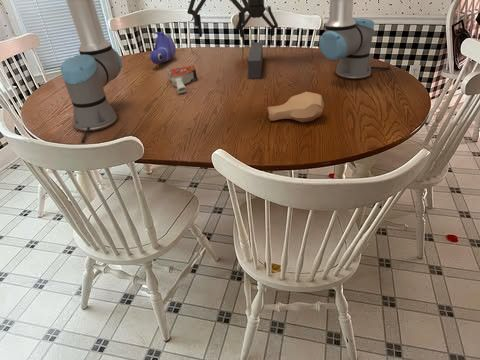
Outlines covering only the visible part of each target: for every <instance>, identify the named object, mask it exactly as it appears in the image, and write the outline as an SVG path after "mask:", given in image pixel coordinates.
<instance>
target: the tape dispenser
mask: <svg viewBox="0 0 480 360" xmlns="http://www.w3.org/2000/svg"><path fill="white" fill-rule="evenodd" d="M181 70H183V71H181ZM166 72H167V77H168V79H169V81H170V82H171V84H172V85H173V87H176V92H177V93H178V94H183V93H186V92H187V87H186V85H187V84H188V83H191V81H196V80H197V77H198V76H197V70H196V67H195V65H188V66H183V67H176V68H168V69H166Z"/></svg>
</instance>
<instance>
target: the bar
mask: <svg viewBox="0 0 480 360" xmlns="http://www.w3.org/2000/svg"><path fill="white" fill-rule="evenodd" d="M247 58H248V59H247V75H248V76H247V77H248V78H247V79H249V80H250V79H261V78H262V71H263V62H264V61H263V60H264V42H262V41H256V42H255V41H254V42H253V41H252V42H251V45H250V49H249V54H248V57H247Z"/></svg>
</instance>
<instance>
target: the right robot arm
mask: <svg viewBox="0 0 480 360" xmlns="http://www.w3.org/2000/svg"><path fill="white" fill-rule="evenodd" d="M247 2H248V4H249V6H250V10H249V11H247V13H248V16H247V17H246V18H245V23H244V24H242V35H240V34H239V37H240V38H242V45H243V46H244V45H246V39H245V29H244V28H245V27H246V25H247V24H248V22H249V21H250V20H251V18H252V19H256V18H257V19H260V18H262V19H263V20H264V22H265V23H266V24H267V25H268V26H269V27H270V28H269V36H270V37H269V41H270V43H269V44H270V45H271V44H273V37H274V36H275V30H276V29H277V28H278V27H279V23H278V21H277V20H276V18H275V16H274V14H273V10H272V7H271V5H269V6H265V0H247ZM353 11H354V0H329V16H328V17H329V18H328V20H327V21H326V22H325V24H324V32H323V33H322V35H321V36H320V38H319V41H318V42H319V43H318V47H319V51H320V53H321V54H322V55H323V56H324V58H325V59H327V60H329V61H334V62H335V61H338V60H339V61H338V63H337V65H336V66H335V75H336V76H337V77H339V78H341V79H345V80H351V81H352V80H355V81H356V80H358V81H359V80H364V79H367V78H369V77H371V75H372V70H389V69H390V66H372V65H371V60H370V54H371V48H372V43H373V42H372V41H373V37H374V31H375V21H373V20H372V19H368V18H361V17H353V13H354V12H353ZM265 12H267V13H268V15H269V17H270V19H271V21H270V19H269V18H268V17H267V16H266V14H265ZM245 14H246V12H245ZM235 26H236V27H235V30H238V31H239V20H238V21H237V24H236V25H235Z"/></svg>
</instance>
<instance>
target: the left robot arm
mask: <svg viewBox="0 0 480 360" xmlns="http://www.w3.org/2000/svg"><path fill="white" fill-rule="evenodd" d="M65 1H66V4H67V8H68V11H69V13H70V16H71V19H72V21H73V25H74V27H75V30H76V34H77V36H78V39H79V42H80V45H79V47H78V52H79V54H77V55H73V56H72V57H71V56H70V57H68V58H66V59H65V60H64V61H63V62H62V63H61V65H60V72H61V77H62V80H63V82H64V84H65V87H66V90H67V93H68V96H69V99H70V101H71V104H72V108H73V114H72V117H73V118H72V119H73V125H74V128H75V129H76V131H78V132H84V134H83V136H82V138H81V142H80V143H84V142H85V139H86V137H87V135H88V133H92V132H99V131H102V130H105V129H107V128H110V127H111V126H113V125H115V124H116V122H117V121H118V116H117V114H116V111H115V109H114V108H113V107H112V105H111V103H110V102H109V101H108V99H107V96H106V92H105V89H104V87H106V86H107V85H108V84H109V83H111V82H112V81H113V80H115V79H116V78H117V77H118V75H119V74H120V73H121V71H122V68H123V62H122V58H121V55H120V53H119V52H118V51H116V49H115V48H114V47H113V45H112V43H111V42H110V41H109V40H107V39H106V36H105V34H104V30H103V27H102V23H101V21H100V18H99V13H98V11H97V7H96V5H95V1H94V0H65ZM206 1H207V0H200V2H199V3H198V5H197V6H196V7H195V9H194V6H195V4H196V0H190V2H189V6H188V9H187V14H188V15H192V17H193V22H194V23H193V24H194V26H195V27H197V28H198V29H197V30H198V37H199V38H202V37H203V29H202V28H203V27H202V20H201V14H199V12H200V11H201V9H202V8H203V6H204V4H205V3H206ZM230 2H231V3H232V5H234V6H235V8H236V9H237V10H238V11H239V12H238V21H239V30H238V31H239V36H240V35H242V30H243V29H242V24H244V23H245V20H246V16H245V14H246V13H245V12H247V13H248V11H249V10H250V6H249V4H248V0H241V2H242V4H243V6H244V7H243V6H242V4H241V3H240V2H239V1H238V0H230Z"/></svg>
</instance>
